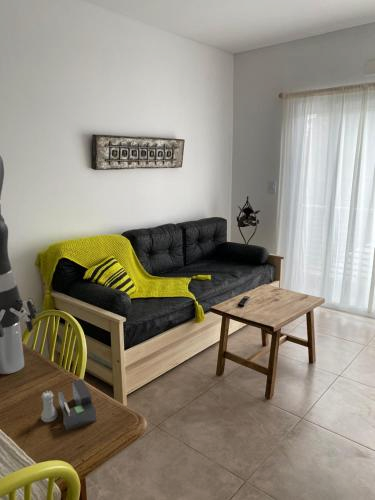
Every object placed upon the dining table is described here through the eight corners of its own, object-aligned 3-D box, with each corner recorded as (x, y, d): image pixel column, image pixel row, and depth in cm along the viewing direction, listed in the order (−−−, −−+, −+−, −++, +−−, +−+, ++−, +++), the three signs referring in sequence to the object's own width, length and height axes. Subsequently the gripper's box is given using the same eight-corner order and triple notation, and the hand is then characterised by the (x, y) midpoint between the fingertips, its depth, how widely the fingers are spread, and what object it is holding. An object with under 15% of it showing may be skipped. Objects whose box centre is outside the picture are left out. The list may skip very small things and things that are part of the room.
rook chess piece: (61, 416, 113) (58, 391, 111) (48, 425, 109) (46, 399, 107) (50, 411, 115) (48, 387, 113) (37, 419, 111) (35, 395, 109)
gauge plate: (59, 402, 117) (58, 391, 116) (62, 401, 117) (61, 390, 116) (67, 423, 108) (66, 411, 107) (71, 422, 108) (70, 410, 107)
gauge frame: (56, 404, 118) (54, 386, 117) (83, 396, 122) (81, 379, 121) (66, 430, 107) (64, 411, 105) (96, 420, 111) (94, 402, 109)
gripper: (30, 277, 121) (41, 323, 126) (-19, 285, 119) (-5, 331, 124) (25, 286, 114) (37, 335, 119) (-27, 295, 112) (-12, 344, 117)
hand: (16, 333), depth 122 cm, fingers open, 8 cm apart
